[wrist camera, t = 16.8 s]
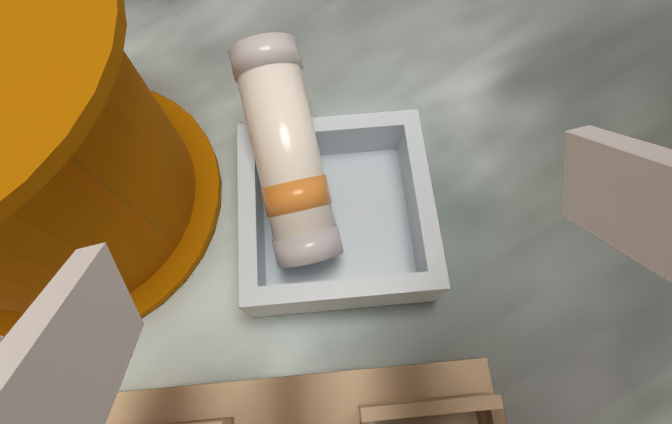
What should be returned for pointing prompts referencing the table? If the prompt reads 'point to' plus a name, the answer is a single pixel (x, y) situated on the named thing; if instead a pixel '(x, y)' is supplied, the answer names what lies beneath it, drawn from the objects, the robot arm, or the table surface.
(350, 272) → the tray
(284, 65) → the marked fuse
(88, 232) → the spool
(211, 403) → the fuse block
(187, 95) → the table surface
